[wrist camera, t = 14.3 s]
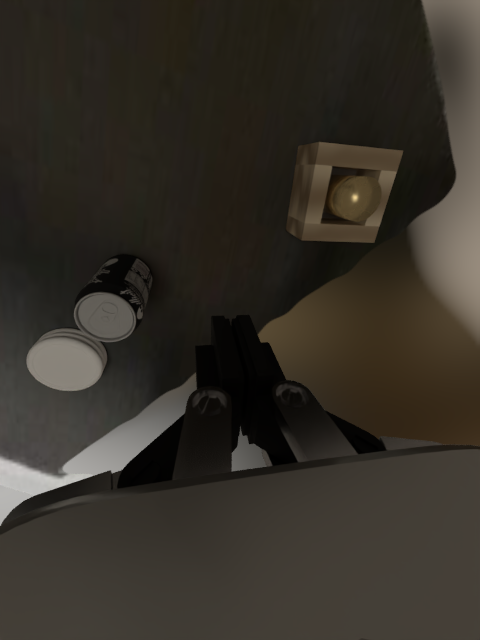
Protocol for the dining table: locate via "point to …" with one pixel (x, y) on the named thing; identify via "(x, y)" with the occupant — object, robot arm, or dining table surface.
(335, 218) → the frame
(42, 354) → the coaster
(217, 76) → the dining table surface
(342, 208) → the banded brass cylinder
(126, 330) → the beverage can
